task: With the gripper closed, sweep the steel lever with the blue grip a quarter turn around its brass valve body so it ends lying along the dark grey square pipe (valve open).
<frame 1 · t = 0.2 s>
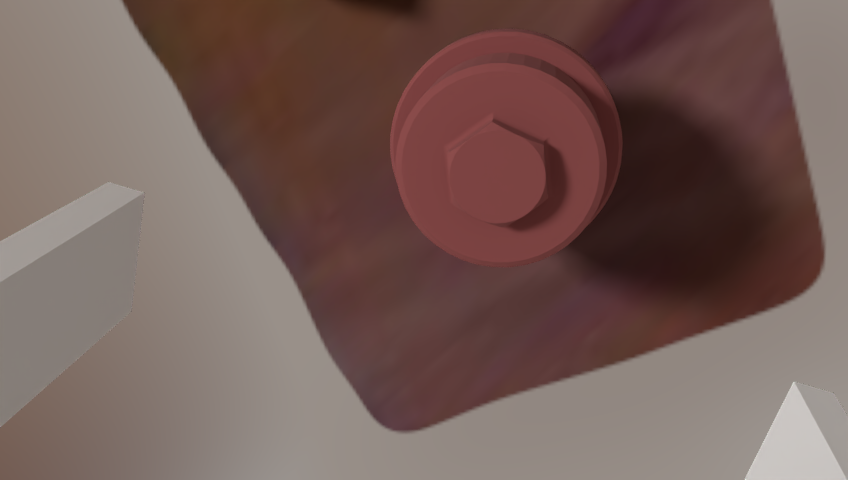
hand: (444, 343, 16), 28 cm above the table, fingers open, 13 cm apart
mechanical component: (512, 112, 42), on the table
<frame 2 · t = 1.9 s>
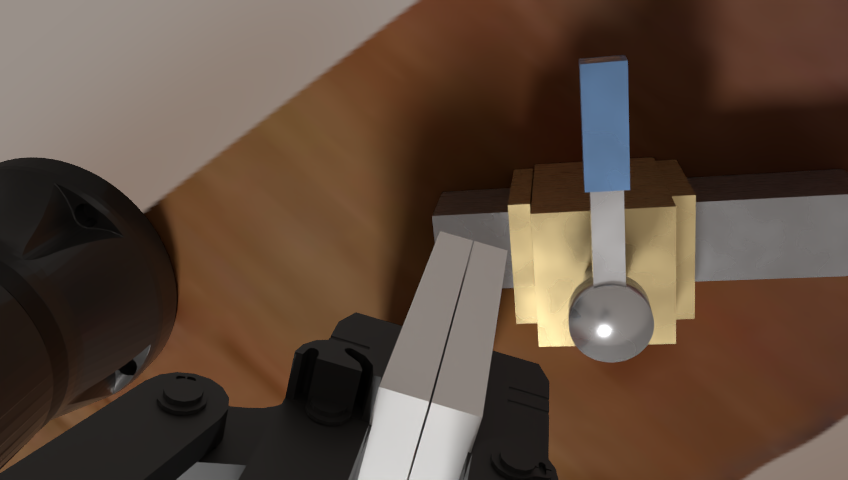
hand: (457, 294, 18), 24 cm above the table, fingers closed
lever: (607, 216, 30), point 12 cm above the table, hinge at 0.0°
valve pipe: (595, 219, 42), on the table
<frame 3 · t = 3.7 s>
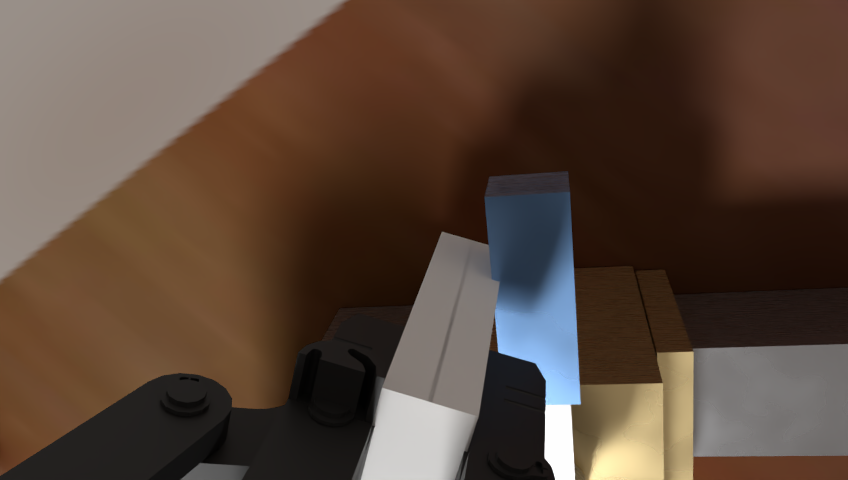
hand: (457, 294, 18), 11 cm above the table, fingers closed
lever: (545, 434, 18), point 12 cm above the table, hinge at 0.1°, touching gripper
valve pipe: (552, 347, 30), on the table
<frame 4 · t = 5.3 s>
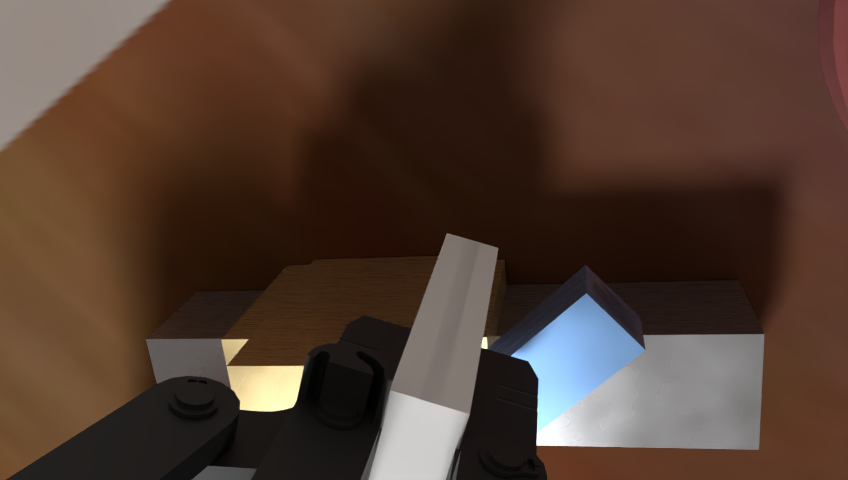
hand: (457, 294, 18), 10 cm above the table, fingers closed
lever: (417, 465, 18), point 12 cm above the table, hinge at 48.6°, touching gripper
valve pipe: (401, 335, 30), on the table
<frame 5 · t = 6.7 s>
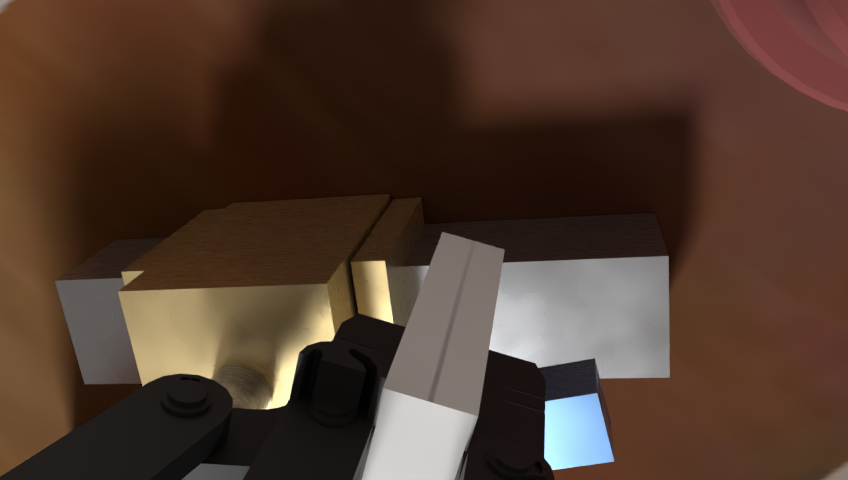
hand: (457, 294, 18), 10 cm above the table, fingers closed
lever: (345, 448, 18), point 12 cm above the table, hinge at 80.0°, touching gripper
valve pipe: (322, 280, 30), on the table
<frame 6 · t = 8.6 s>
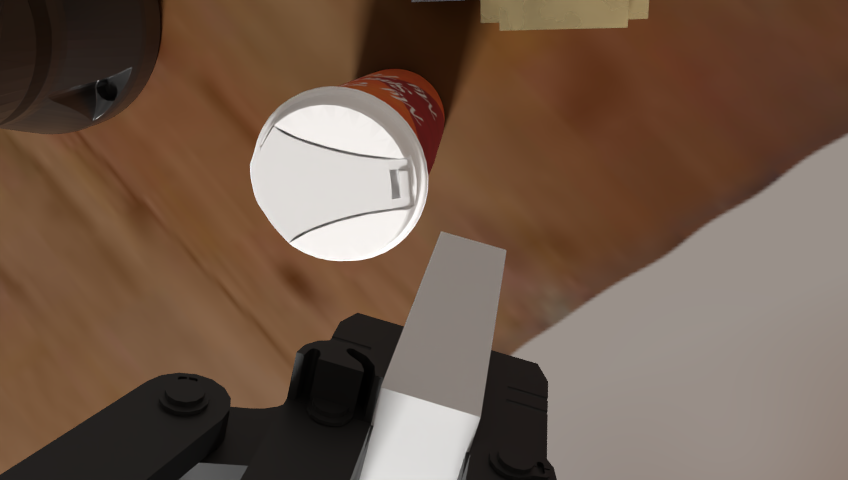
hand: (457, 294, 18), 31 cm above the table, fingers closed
coffee cup: (396, 116, 49), on the table
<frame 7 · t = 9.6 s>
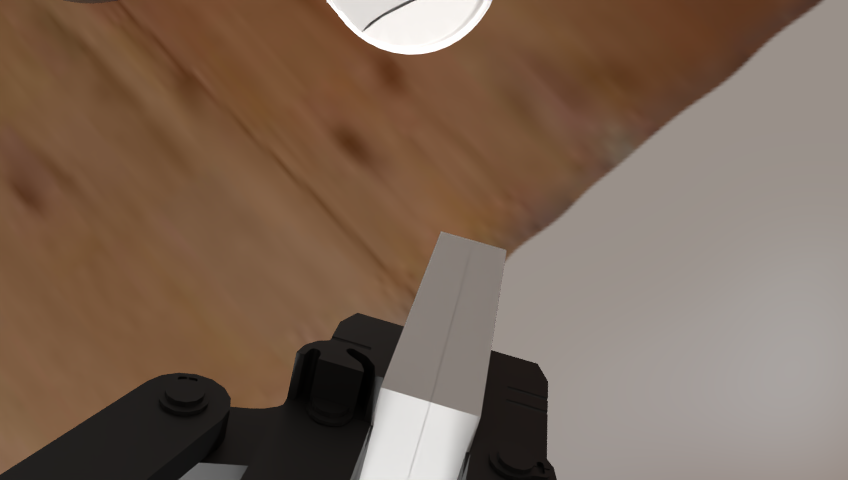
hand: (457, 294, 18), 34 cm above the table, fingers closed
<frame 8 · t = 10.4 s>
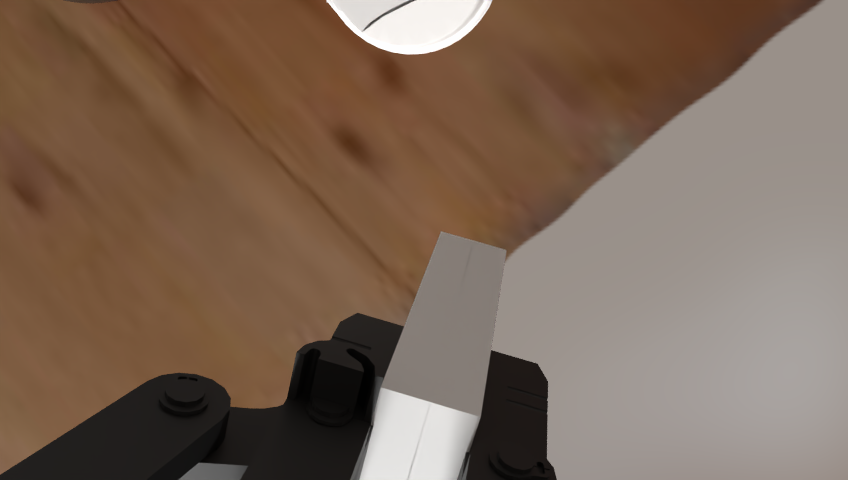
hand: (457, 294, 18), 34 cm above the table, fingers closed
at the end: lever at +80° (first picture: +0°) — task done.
